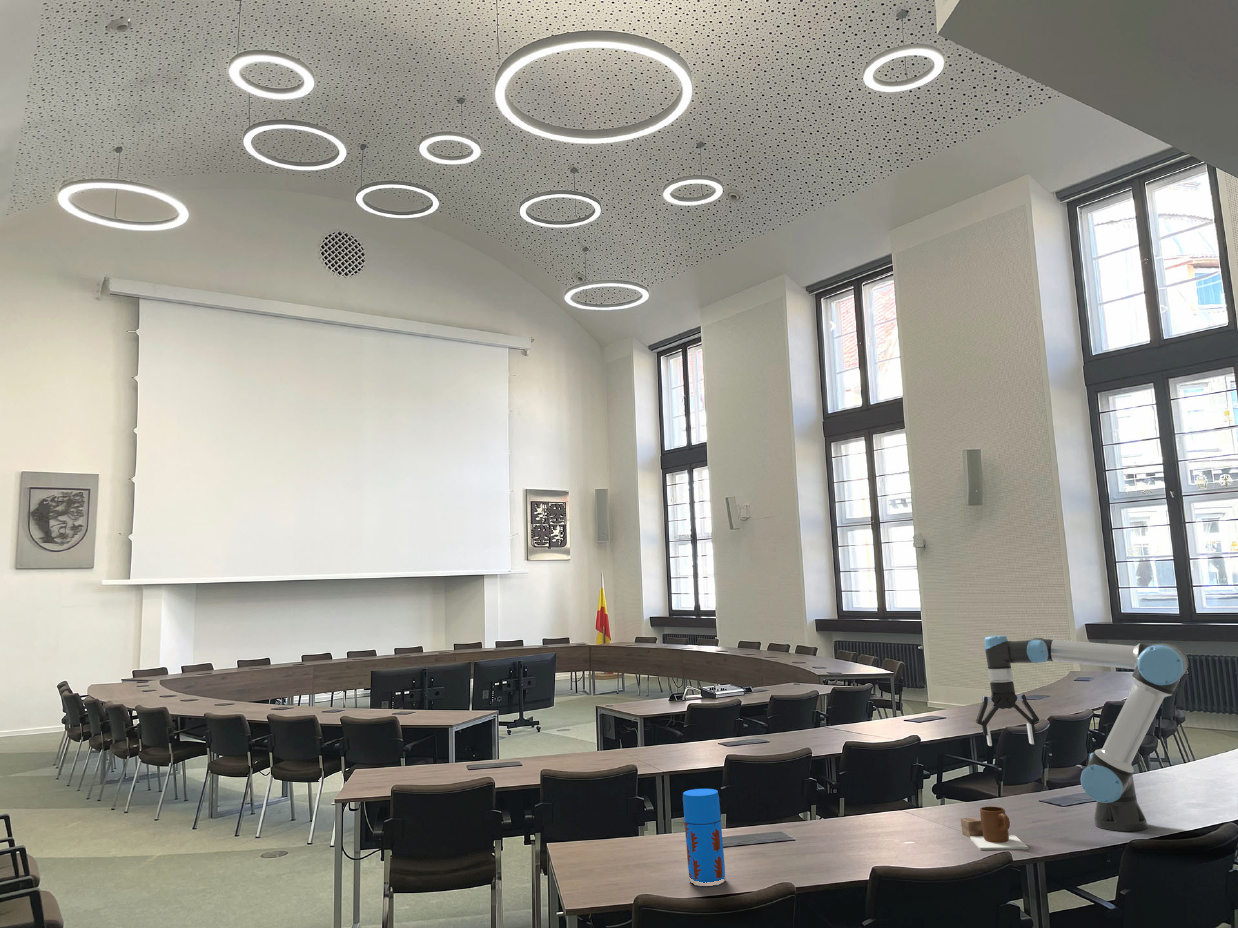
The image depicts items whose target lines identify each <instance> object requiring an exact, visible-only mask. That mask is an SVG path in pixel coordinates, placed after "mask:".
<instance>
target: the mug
mask: <svg viewBox="0 0 1238 928" xmlns="http://www.w3.org/2000/svg"><path fill="white" fill-rule="evenodd" d="M979 814H980V815H979V817H980V820H981V824H982V830H983V837H984V839H985V840H986V841H989V842H995V843H1001V842H1007V841H1008V840H1009V835H1010V833H1009V829H1010V826H1011V824H1010V823H1011V822H1010V818H1009V815H1007V814H1006V810H1005V808H1004V807H1000V806H983V807H980V808H979Z"/></svg>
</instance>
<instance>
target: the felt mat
mask: <svg viewBox="0 0 1238 928" xmlns="http://www.w3.org/2000/svg"><path fill="white" fill-rule="evenodd" d="M969 839H970V840H971V842H972V843H973V844H974V845H975V846H976V847H977V849H979V850H980V851H1006V850H1007V851H1011V850H1015V851H1016V850H1017V851H1018V850H1029V846H1028V845H1026V844H1025V843H1024V841H1023V842H1022V839H1021V840H1020V839H1019V837H1017V835H1015V834H1009V840H1008V841H1007V842H1001V843H995V842H989V841H986V840H985V839H984V837H983V836H970V838H969Z"/></svg>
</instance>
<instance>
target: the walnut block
mask: <svg viewBox="0 0 1238 928" xmlns="http://www.w3.org/2000/svg"><path fill="white" fill-rule="evenodd" d="M960 824H961V825H960V827H961V831H962V835H963V836H965V837H967V838H969V839H970V836H983V830H982V824H981V819H979V818H977V817H966V818H965V817H964V818H960Z"/></svg>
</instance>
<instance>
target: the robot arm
mask: <svg viewBox="0 0 1238 928" xmlns="http://www.w3.org/2000/svg"><path fill="white" fill-rule="evenodd" d="M983 643H984V653H985V657H986V662H987V670H988V678H989V681H990V682H989V685H990V691H991V696H985V695H982V699H981V700H982V701H981V704H980V705H981V706H980V708H979V711H978V713H977V717H976V719H975V723H976V724H977V725H981V728H982V734H983V736H986V740H987V745H988V746H989V747H992V746H993V743H992V742H993V741H992V736H991V727H990V725H988V724H989V723H990V721H991V719H992V718H993V717H994V715H995V714H996V712H998V710H999V709H1000V710H1006V709H1008V710H1009V709H1010V710H1011V709H1012V708H1013V709H1014V710H1015V711H1016V712H1017V713H1018V714H1019V715H1020V716H1022V718H1024V720H1026V721H1027V723H1026V728H1027V729H1026V730H1027V737H1028V742H1029V744H1031V745H1035V742H1034V736H1033V735H1034V734H1036V727H1035V723H1038V722H1040V718H1039V716H1038V715H1037V714H1036V712H1035V711H1034V710H1033V708H1032V707H1031V705H1030V704H1029V702H1028V700H1027V696H1026V695H1025V694H1023V693H1021V694H1018V695H1017V694H1016V691H1015V684H1014V683H1015V682H1014V681H1012V680H1013V679H1014V677H1013V672H1012V664H1039V663H1046V662H1057V663H1066V664H1077V665H1086V666H1087V665H1088V666H1099V667H1107V668H1117V669H1129V670H1130V669H1131V670H1134V671H1133V672H1132V675H1131V678H1132V680H1133V682H1134V683H1133V686H1132V687H1131V690H1130V692H1129V694H1128V696H1127V697H1126V700H1125V702H1124V704H1123V706H1122V708H1121V709H1120V712H1119V714H1118V716H1117V718H1116V720H1115V722H1114V723H1113V726H1112V728H1111V730H1110V732H1109V733H1108V736H1107V738H1106V740H1105V742H1104V745H1103V747H1102V748H1099V749H1095V751H1094V752H1091V753H1090V754H1089V762H1088V764H1087V766H1086V767H1084V768H1083V769H1082V772H1081V774H1080V785H1081V787H1082V790H1083V791H1084V792H1085V793H1086V795H1087V796H1088V797H1090V798H1091V800H1094V801H1096V804H1095V810H1094V815H1093V821H1094V825H1095V826H1096V827H1098V828H1100V829H1104V830H1110V831H1117V832H1138V831H1142V830H1143V831H1144V830H1146V829H1148V821H1147V818H1146V817H1145V814H1144V813H1143V810H1142V808H1141V806H1140V805H1139V803H1138V799H1137V793H1136V789H1135V781H1134V777H1133V775H1134V774H1133V773H1134V772H1135V769H1134V767H1133V765H1132V764H1133V761H1134V758H1135V756H1136V754H1137V753H1138V750H1139V749H1140V746H1141V745H1142V742H1143V741H1144V739H1145V737H1146V734H1147V733H1148V731H1149V729H1150V727H1151V724H1152V723H1153V721H1154V719H1155V718H1156V717H1155V716H1156V714H1157V713H1158V711H1159V708H1160V707H1161V705H1162V703H1163V701H1164V699H1165V698H1167V697H1170V696H1173V694H1174V692H1175V690H1176V688H1177V686H1178V684H1179V682H1180V680H1181V679H1182V677H1183V676H1184V675H1185V674H1186V672H1187V671H1188V668H1189V660H1188V659H1189V658H1188V657H1187V654H1186V653H1185V652H1184V651H1183V650H1182V649H1181V648H1180V647H1179V646H1177V645H1175V644H1172V643H1167V642H1162V643H1161V642H1160V643H1142V642H1141V643H1140V642H1139V643H1138V644H1137V645H1126V644H1114V643H1113V644H1111V643H1102V642H1101V643H1100V642H1087V641H1086V642H1085V641H1077V640H1076V641H1075V640H1063V639H1062V640H1061V639H1050V638H1048V639H1046V638H1043V637H1034V638H1031V639H1027V640H1026V639H1025V640H1008V638H1007V636H1006V635H989V636H985V637H984V642H983ZM990 701H991V702H992V703H993V704H992V706H991V708H990V710H989V711H988V713H987V714H986V716H985V713H986V710H987V707H988V705H989V703H990ZM1017 701H1020V702H1021V703H1022V705H1023V706H1024V707H1025V709H1026V711H1027V712H1028V714H1029V715H1030V716H1029V715H1028V714H1027V713H1026V712H1025V711H1024V710H1023V709H1022V708H1021V707H1020V705H1019V706H1018V704H1017V703H1016V702H1017ZM984 716H985V717H984Z"/></svg>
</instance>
